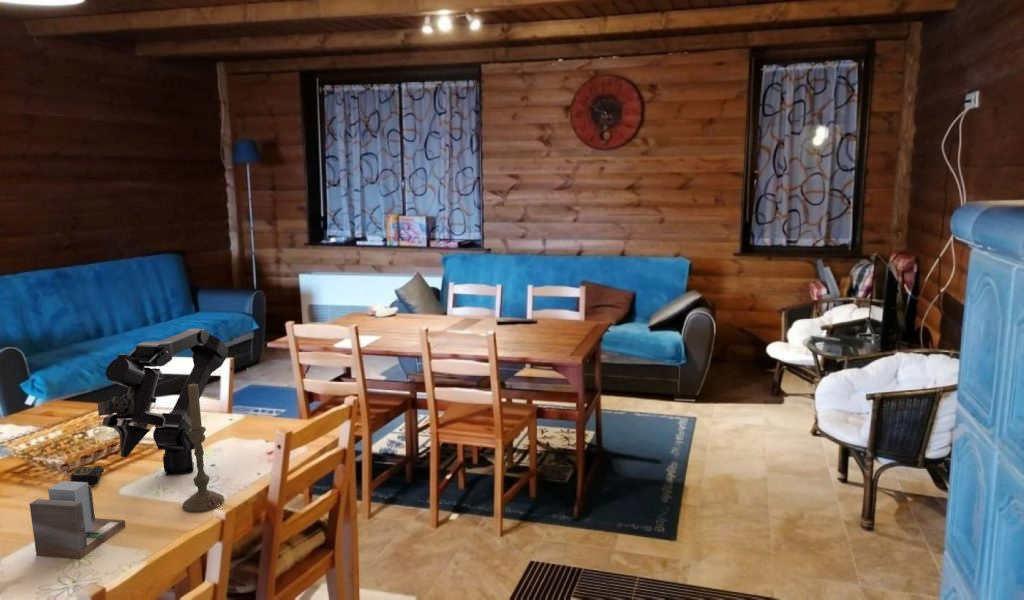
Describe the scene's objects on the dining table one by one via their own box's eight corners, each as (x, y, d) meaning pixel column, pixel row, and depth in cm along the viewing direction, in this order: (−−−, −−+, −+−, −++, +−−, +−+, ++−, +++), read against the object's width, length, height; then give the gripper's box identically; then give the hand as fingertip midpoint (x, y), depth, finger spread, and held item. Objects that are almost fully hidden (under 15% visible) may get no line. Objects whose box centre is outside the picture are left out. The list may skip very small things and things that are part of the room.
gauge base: (84, 523, 165) (78, 475, 163) (125, 526, 163) (120, 477, 161) (36, 555, 151) (29, 503, 149) (80, 559, 150) (73, 506, 148)
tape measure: (98, 487, 184) (97, 473, 183) (67, 491, 182) (66, 477, 181) (104, 477, 190) (103, 463, 190) (75, 480, 188) (73, 466, 188)
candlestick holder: (198, 515, 168) (187, 389, 163) (174, 506, 173) (162, 383, 167) (232, 500, 176) (222, 379, 170) (208, 492, 180) (197, 374, 175)
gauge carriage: (69, 527, 159) (63, 479, 157) (106, 529, 158) (100, 481, 156) (53, 538, 155) (47, 488, 153) (91, 540, 153) (85, 491, 151)
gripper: (89, 387, 178) (70, 452, 172) (127, 381, 167) (108, 450, 161) (134, 398, 186) (117, 460, 181) (173, 392, 175) (156, 458, 170)
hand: (123, 457), depth 173 cm, fingers closed
